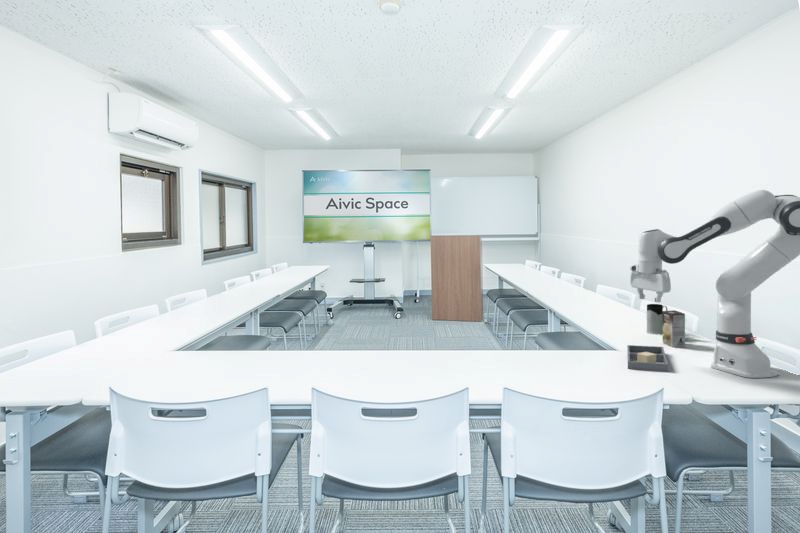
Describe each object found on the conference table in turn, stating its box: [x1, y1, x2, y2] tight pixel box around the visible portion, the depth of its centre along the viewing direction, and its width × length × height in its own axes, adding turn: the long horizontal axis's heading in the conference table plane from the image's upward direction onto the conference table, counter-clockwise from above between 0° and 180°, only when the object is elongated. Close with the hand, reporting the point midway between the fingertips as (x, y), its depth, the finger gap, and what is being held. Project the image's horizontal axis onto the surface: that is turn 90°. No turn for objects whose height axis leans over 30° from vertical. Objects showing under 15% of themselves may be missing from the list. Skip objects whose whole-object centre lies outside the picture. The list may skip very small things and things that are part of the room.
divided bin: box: [626, 344, 669, 372], centre depth 203 cm, size 28×15×3 cm, turn 154°
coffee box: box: [662, 310, 686, 348], centre depth 225 cm, size 9×6×16 cm
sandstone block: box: [636, 352, 657, 363], centre depth 197 cm, size 5×5×5 cm
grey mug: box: [645, 303, 668, 335], centre depth 253 cm, size 9×14×15 cm, turn 115°
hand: (649, 300), depth 198 cm, fingers open, 8 cm apart
